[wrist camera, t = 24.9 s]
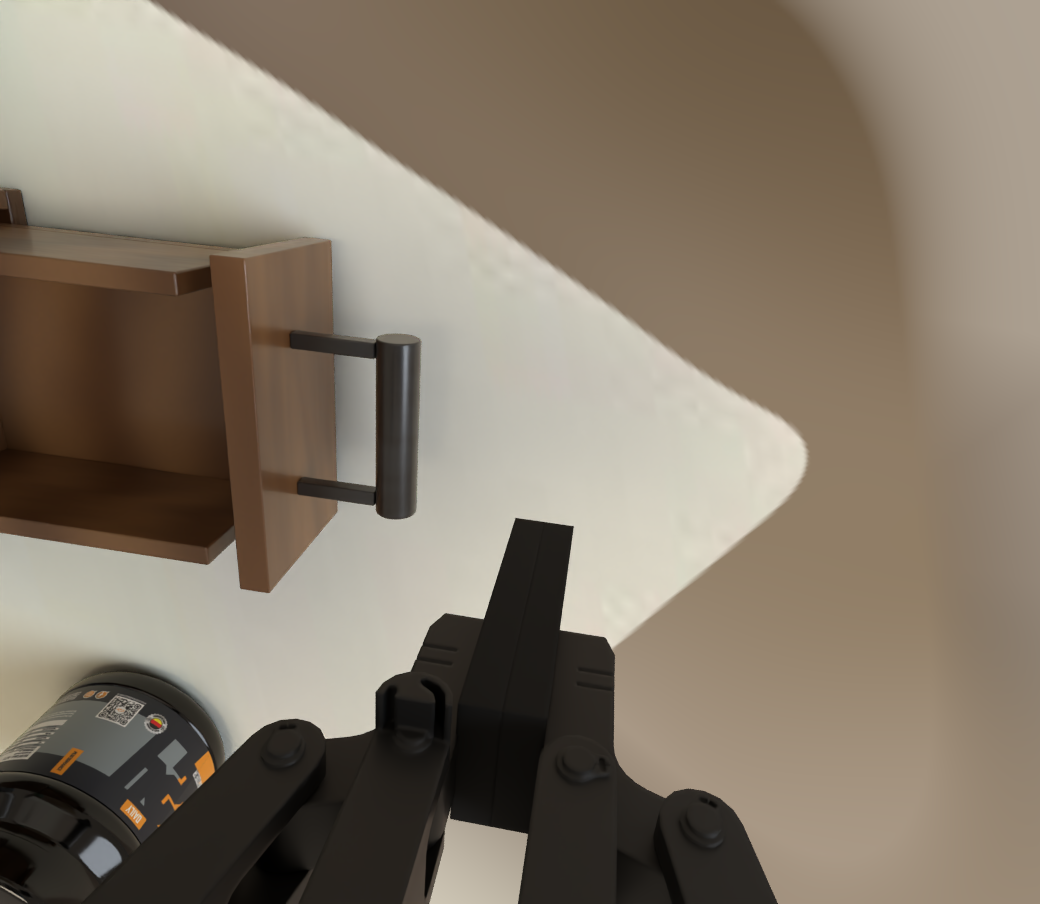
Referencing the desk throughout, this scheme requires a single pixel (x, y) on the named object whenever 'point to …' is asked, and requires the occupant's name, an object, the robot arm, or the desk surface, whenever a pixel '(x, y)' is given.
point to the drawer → (185, 398)
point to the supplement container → (97, 783)
